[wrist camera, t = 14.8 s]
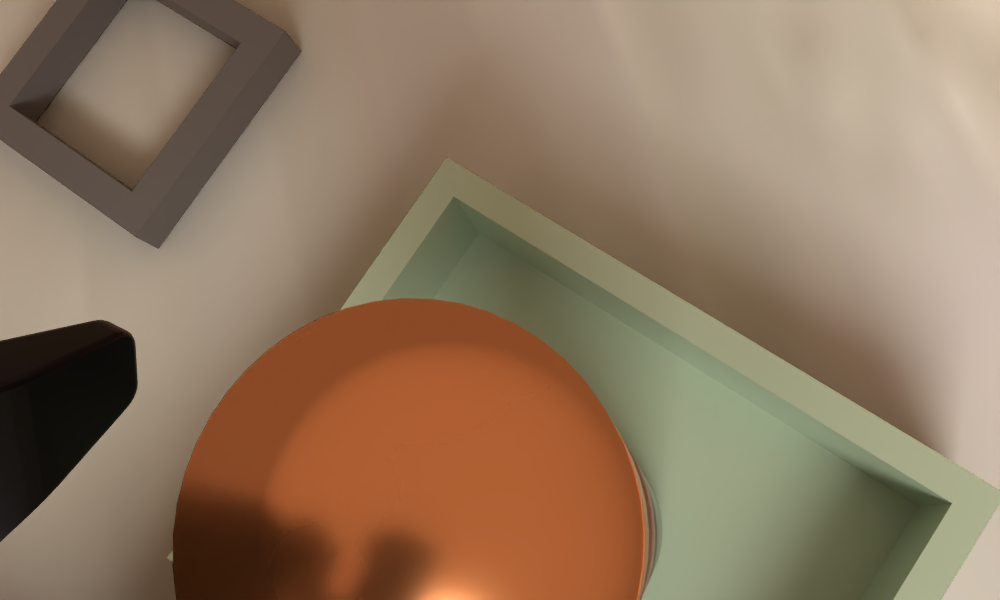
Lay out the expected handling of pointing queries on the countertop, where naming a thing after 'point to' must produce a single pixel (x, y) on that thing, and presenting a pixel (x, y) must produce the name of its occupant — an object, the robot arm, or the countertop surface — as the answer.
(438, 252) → the tray
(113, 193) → the pin collar
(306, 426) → the pin
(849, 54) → the countertop surface
